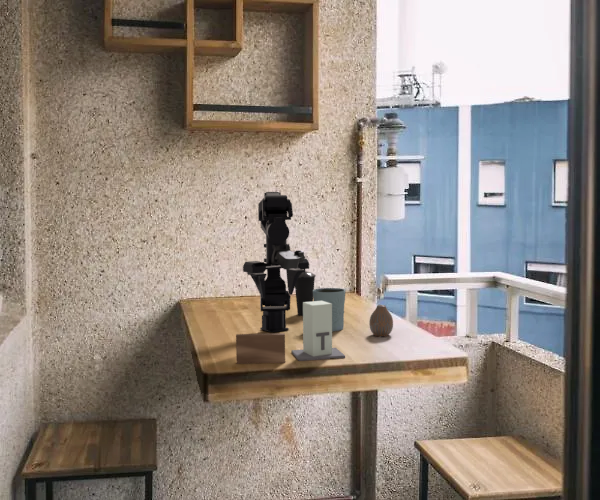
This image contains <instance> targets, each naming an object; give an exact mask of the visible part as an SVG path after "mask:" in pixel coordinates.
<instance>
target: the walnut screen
mask: <svg viewBox="0 0 600 500" xmlns="http://www.w3.org/2000/svg"><path fill="white" fill-rule="evenodd" d="M235 346H236V349H235V350H236V351H235V352H236V353H235V354H236V356H235V357H236V364H240V365H241V364H275V363H276V364H278V363H286V334H285V332H284V333H280V332H279V333H278V332H277V333H244V334H243V333H242V334H241V333H240V334H238V333H237V334H235Z"/></svg>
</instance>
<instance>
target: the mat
mask: <svg viewBox="0 0 600 500" xmlns="http://www.w3.org/2000/svg"><path fill="white" fill-rule="evenodd" d="M291 354H292V355H293V356H294V357H295V358H296V360H298V362H300V361H301V362H305V361H317V360H318V361H319V360H330V358H336V359H345V358H346V355H345V353H343V352H342V351H340V349H339V348H337V347H332V354H327V355H320V356H311V355H309V354H307V353H305V352H303V349H291Z"/></svg>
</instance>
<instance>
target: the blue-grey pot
mask: <svg viewBox="0 0 600 500" xmlns="http://www.w3.org/2000/svg"><path fill="white" fill-rule="evenodd" d="M313 301H325V302H328V303H331V304H332V332H339V331H343V330H344V327H345V326H344V324H345V320H344V317H345V315H344V314H345V302H346V289H345V288H338V287H337V288H336V287H321V288H314V290H313Z"/></svg>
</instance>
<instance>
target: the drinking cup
mask: <svg viewBox="0 0 600 500" xmlns="http://www.w3.org/2000/svg"><path fill="white" fill-rule="evenodd" d="M304 259H306V255H304ZM303 270H306V269H303ZM315 279H316V274H315V273H312V272H311V271H305V272H303V273H302V274H301V275H300V276H299V277H298V280H297V282H296V285H295V288H294V290H295V300H296V301H295V302H296V309H297V315H298V316H302V317H303V302H312V301H314V300H313V290H314V289H315V282H316V281H315Z"/></svg>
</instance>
